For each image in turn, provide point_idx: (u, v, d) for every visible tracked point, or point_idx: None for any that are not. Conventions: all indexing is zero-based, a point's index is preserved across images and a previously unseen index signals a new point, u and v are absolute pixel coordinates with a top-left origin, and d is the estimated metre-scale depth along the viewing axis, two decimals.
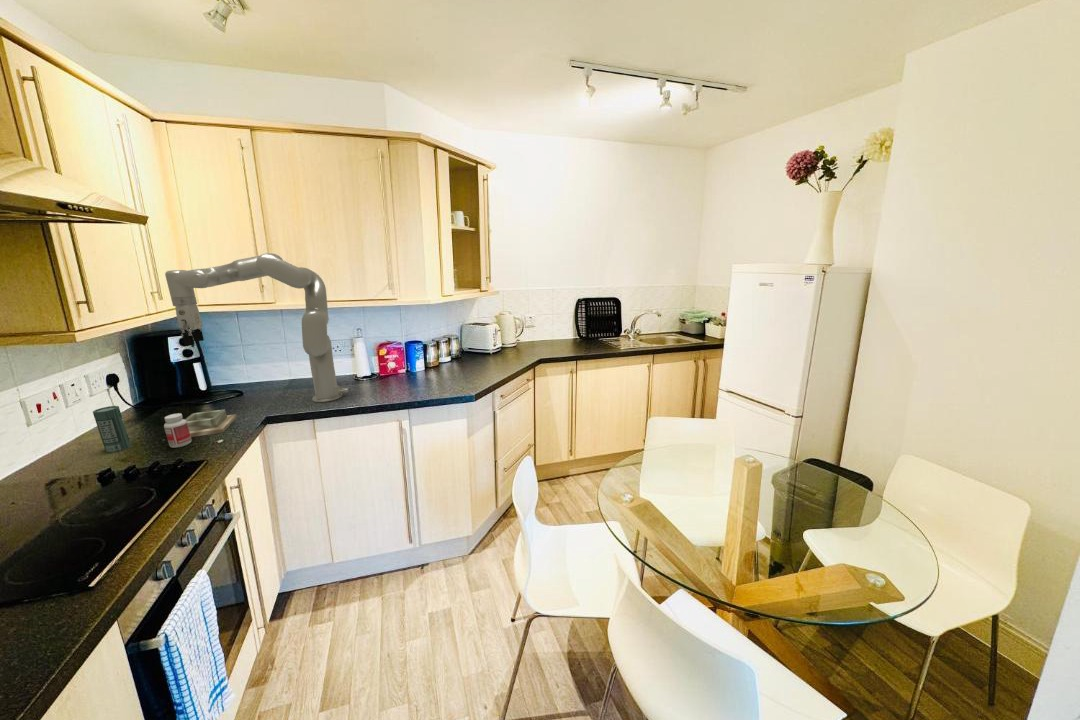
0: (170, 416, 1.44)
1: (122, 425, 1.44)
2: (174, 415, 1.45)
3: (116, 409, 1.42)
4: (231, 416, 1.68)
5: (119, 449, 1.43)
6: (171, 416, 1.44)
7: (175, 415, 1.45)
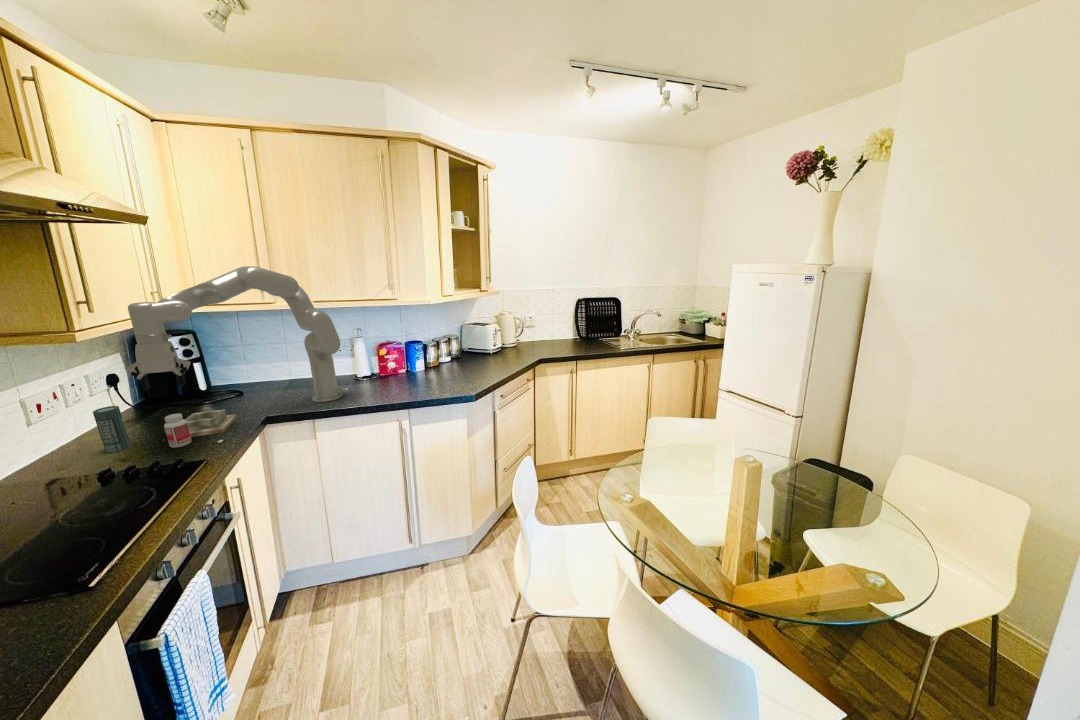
0: (170, 416, 1.44)
1: (122, 425, 1.44)
2: (174, 415, 1.45)
3: (116, 409, 1.42)
4: (231, 416, 1.68)
5: (119, 449, 1.43)
6: (171, 416, 1.44)
7: (175, 415, 1.45)
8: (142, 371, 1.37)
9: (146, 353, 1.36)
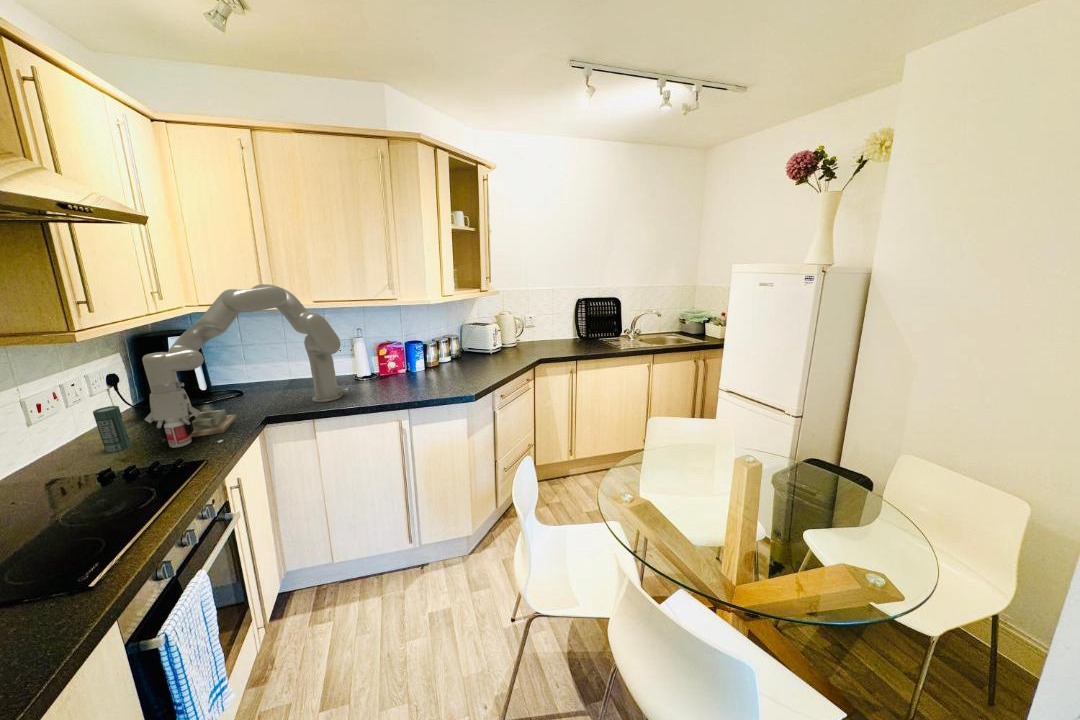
0: None
1: (122, 425, 1.44)
2: None
3: (116, 409, 1.42)
4: (231, 416, 1.68)
5: (119, 449, 1.43)
6: None
7: None
8: (156, 419, 1.41)
9: (160, 402, 1.40)
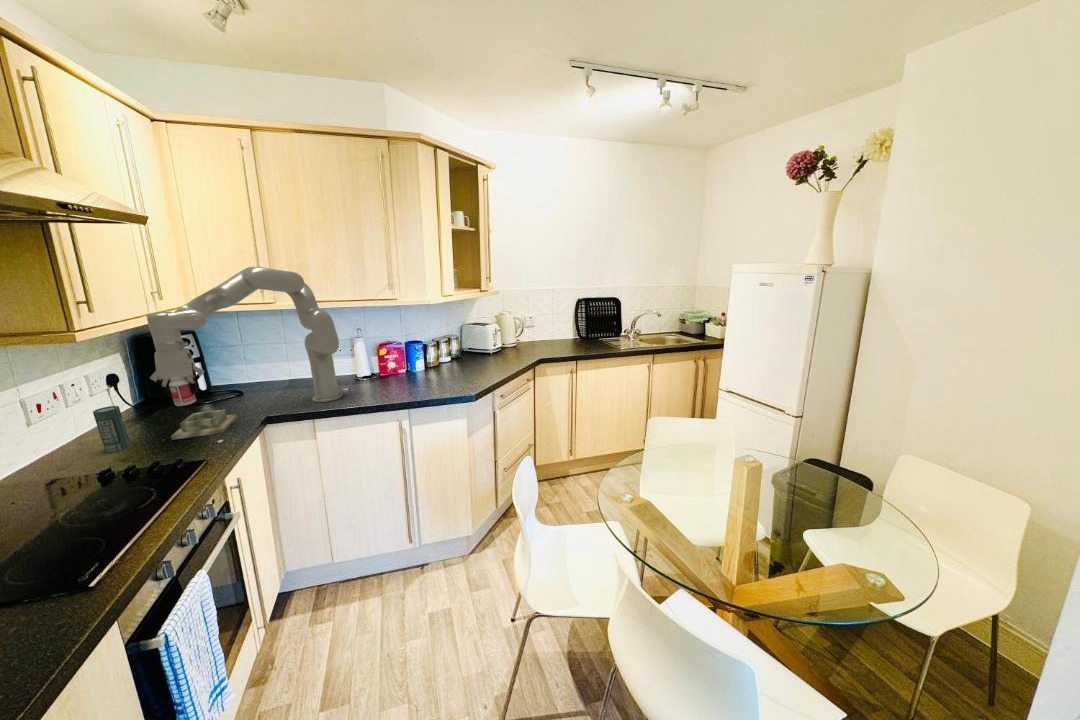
0: None
1: (122, 425, 1.44)
2: None
3: (116, 409, 1.42)
4: (231, 416, 1.68)
5: (119, 449, 1.43)
6: None
7: None
8: (161, 377, 1.44)
9: (165, 360, 1.43)
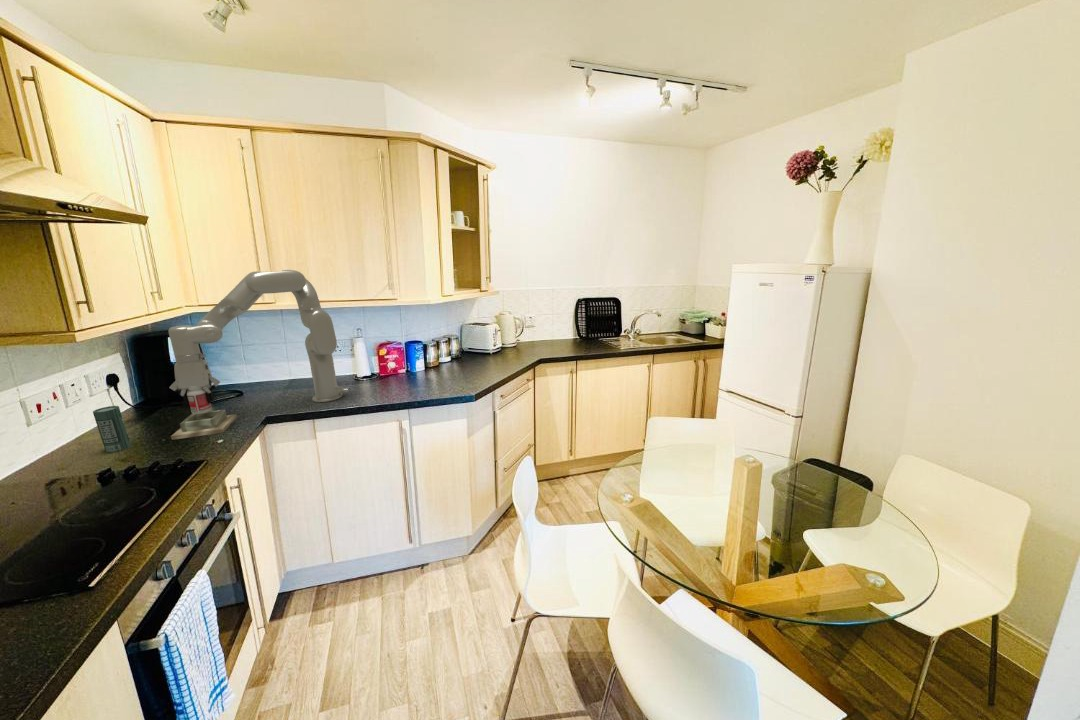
0: None
1: (122, 425, 1.44)
2: None
3: (116, 409, 1.42)
4: (231, 416, 1.68)
5: (119, 449, 1.43)
6: None
7: None
8: (180, 387, 1.53)
9: (184, 371, 1.52)
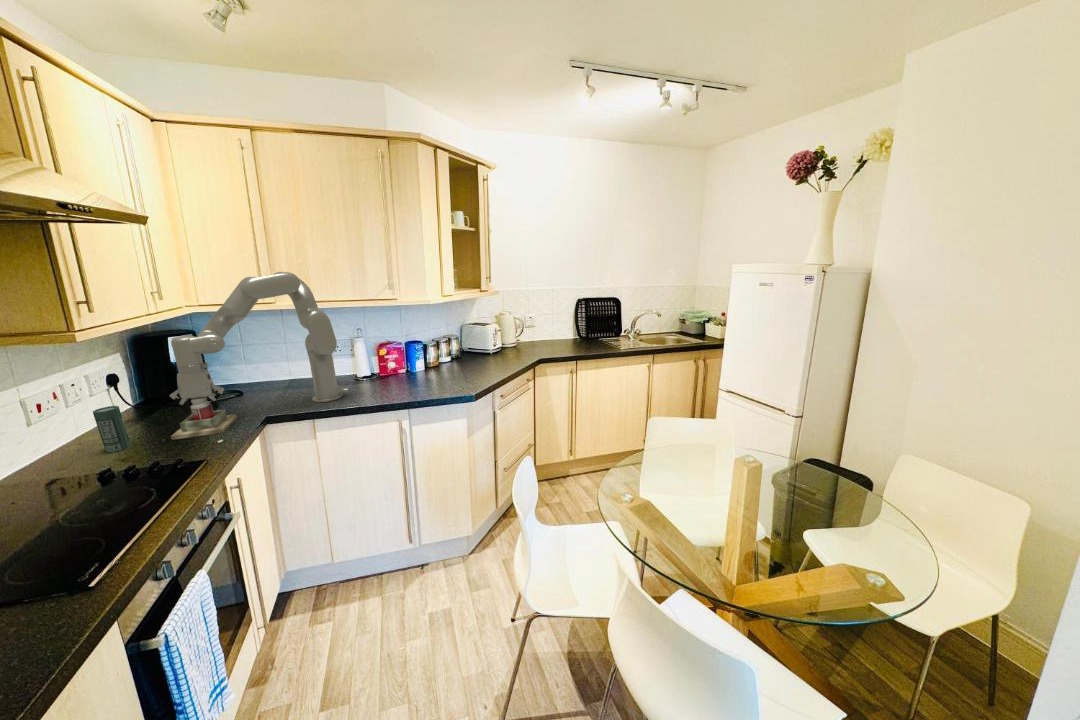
0: (196, 398, 1.57)
1: (122, 425, 1.44)
2: (199, 397, 1.58)
3: (116, 409, 1.42)
4: (231, 416, 1.68)
5: (119, 449, 1.43)
6: (197, 398, 1.57)
7: (200, 397, 1.58)
8: (183, 397, 1.54)
9: (187, 381, 1.53)
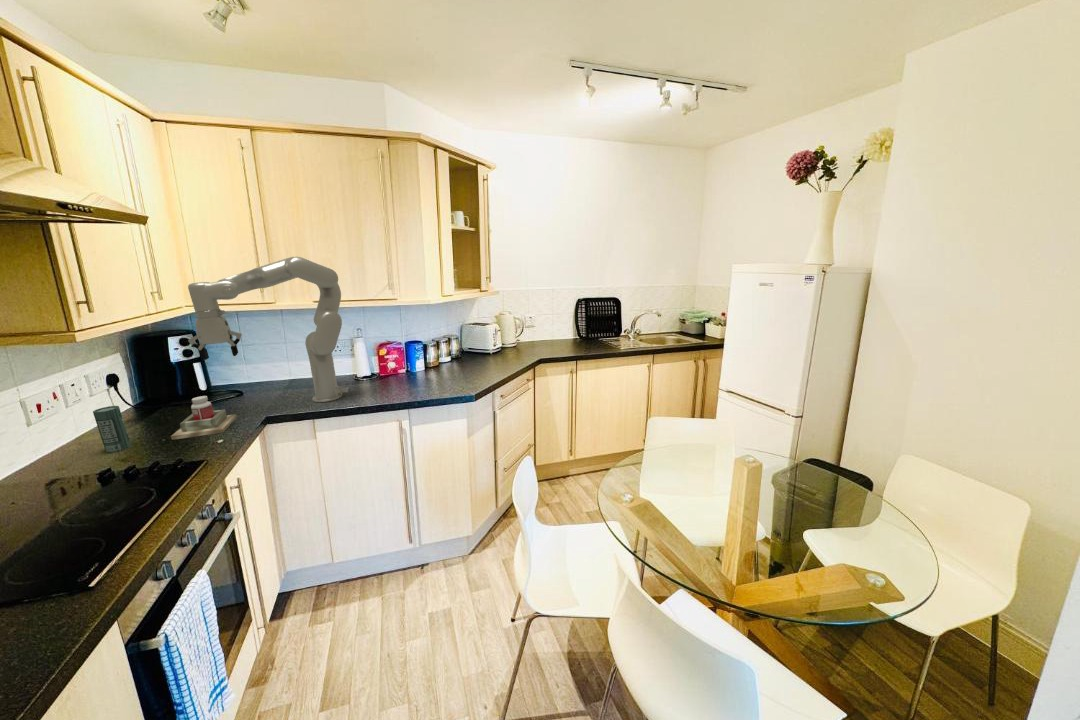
0: (197, 398, 1.57)
1: (122, 425, 1.44)
2: (200, 397, 1.58)
3: (117, 409, 1.42)
4: (231, 416, 1.68)
5: (119, 449, 1.43)
6: (197, 398, 1.57)
7: (201, 397, 1.58)
8: (202, 342, 1.58)
9: (205, 327, 1.56)
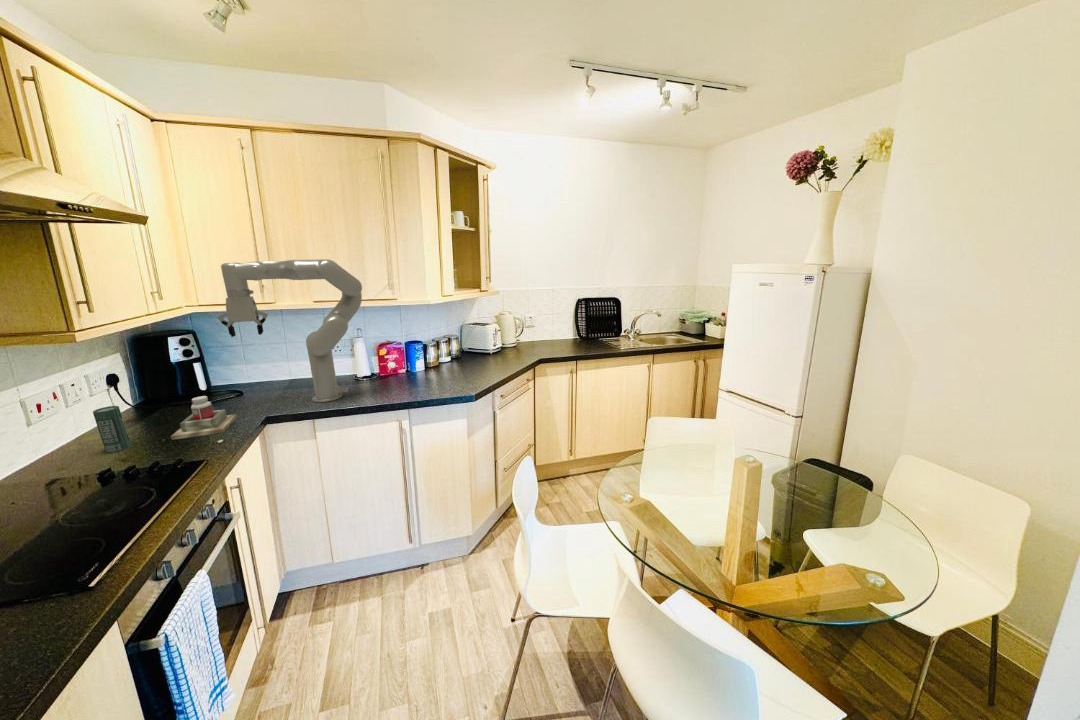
0: (197, 398, 1.57)
1: (122, 425, 1.44)
2: (200, 397, 1.58)
3: (116, 409, 1.42)
4: (231, 416, 1.68)
5: (119, 449, 1.43)
6: (197, 398, 1.57)
7: (201, 397, 1.58)
8: (231, 320, 1.66)
9: (234, 305, 1.64)
